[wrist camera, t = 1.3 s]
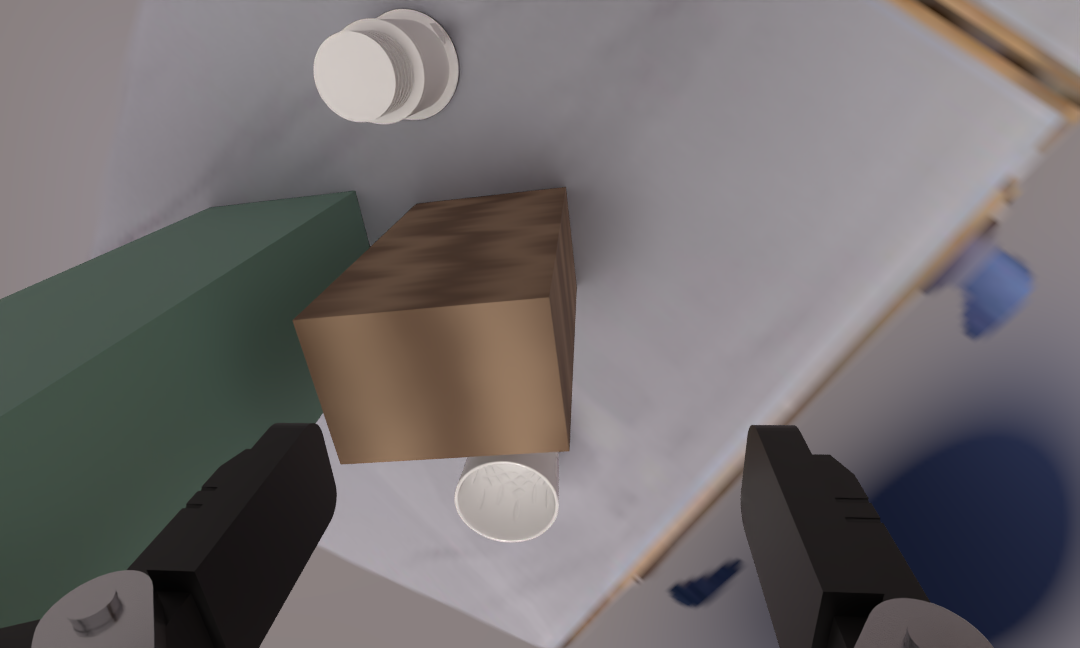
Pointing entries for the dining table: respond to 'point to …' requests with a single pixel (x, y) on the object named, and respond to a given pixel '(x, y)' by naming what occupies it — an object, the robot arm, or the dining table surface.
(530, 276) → the walnut block
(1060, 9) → the dining table surface
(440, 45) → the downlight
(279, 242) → the green stand
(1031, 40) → the dining table surface
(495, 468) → the white cup
